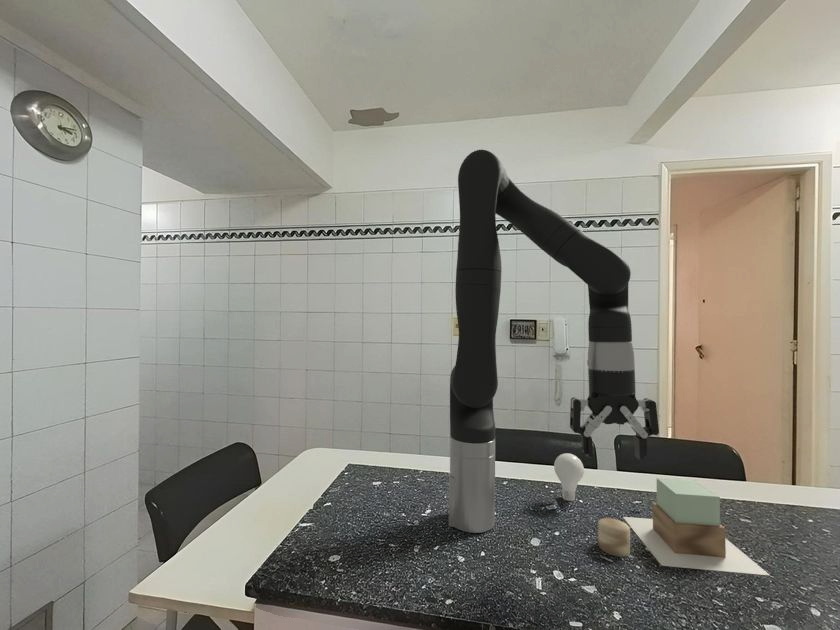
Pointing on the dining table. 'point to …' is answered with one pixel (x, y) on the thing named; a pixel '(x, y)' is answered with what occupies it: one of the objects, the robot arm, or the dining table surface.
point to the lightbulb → (569, 474)
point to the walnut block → (689, 535)
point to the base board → (667, 557)
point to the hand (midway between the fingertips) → (613, 457)
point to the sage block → (688, 502)
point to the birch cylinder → (614, 537)
